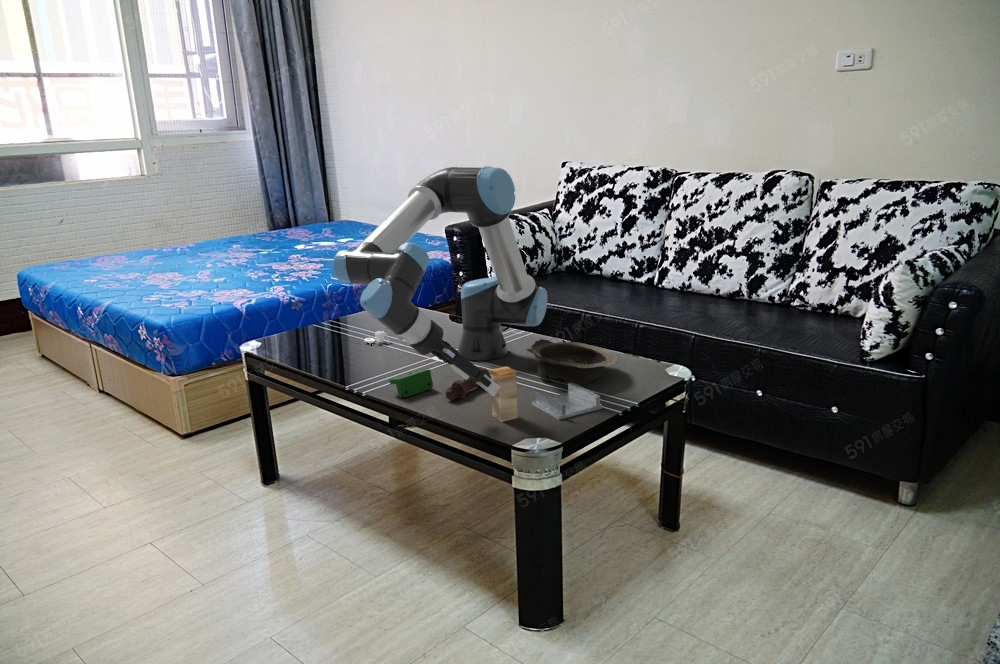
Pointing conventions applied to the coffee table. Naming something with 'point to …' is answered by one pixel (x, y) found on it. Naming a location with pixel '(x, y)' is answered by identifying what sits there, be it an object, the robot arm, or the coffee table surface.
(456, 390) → the bolt
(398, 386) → the green notched mounting bracket
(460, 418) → the coffee table surface
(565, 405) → the keeper bracket
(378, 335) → the teacup and saucer
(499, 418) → the block
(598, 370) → the stone bowl
